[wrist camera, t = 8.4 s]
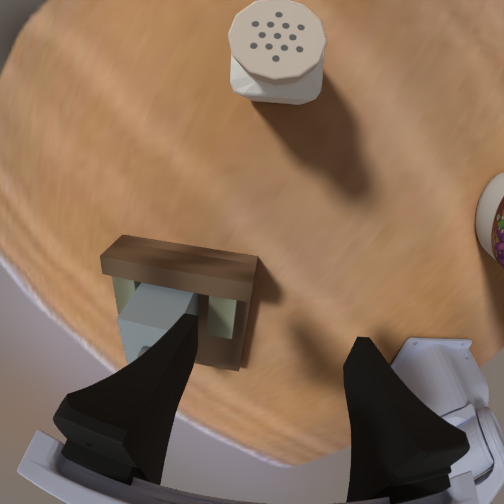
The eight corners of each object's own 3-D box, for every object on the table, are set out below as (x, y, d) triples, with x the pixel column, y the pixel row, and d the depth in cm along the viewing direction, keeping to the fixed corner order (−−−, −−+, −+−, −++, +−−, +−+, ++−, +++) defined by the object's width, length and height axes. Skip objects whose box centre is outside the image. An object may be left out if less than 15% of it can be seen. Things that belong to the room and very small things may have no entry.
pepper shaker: (307, 106, 16) (335, 99, 8) (244, 101, 17) (211, 88, 8) (311, 49, 15) (341, -4, 6) (248, 44, 15) (220, -13, 6)
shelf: (257, 256, 22) (253, 284, 18) (240, 362, 27) (235, 391, 24) (122, 234, 22) (100, 255, 19) (136, 340, 27) (122, 365, 24)
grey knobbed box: (199, 278, 22) (172, 341, 16) (197, 345, 25) (178, 406, 19) (150, 269, 22) (111, 326, 16) (156, 336, 25) (130, 392, 19)
